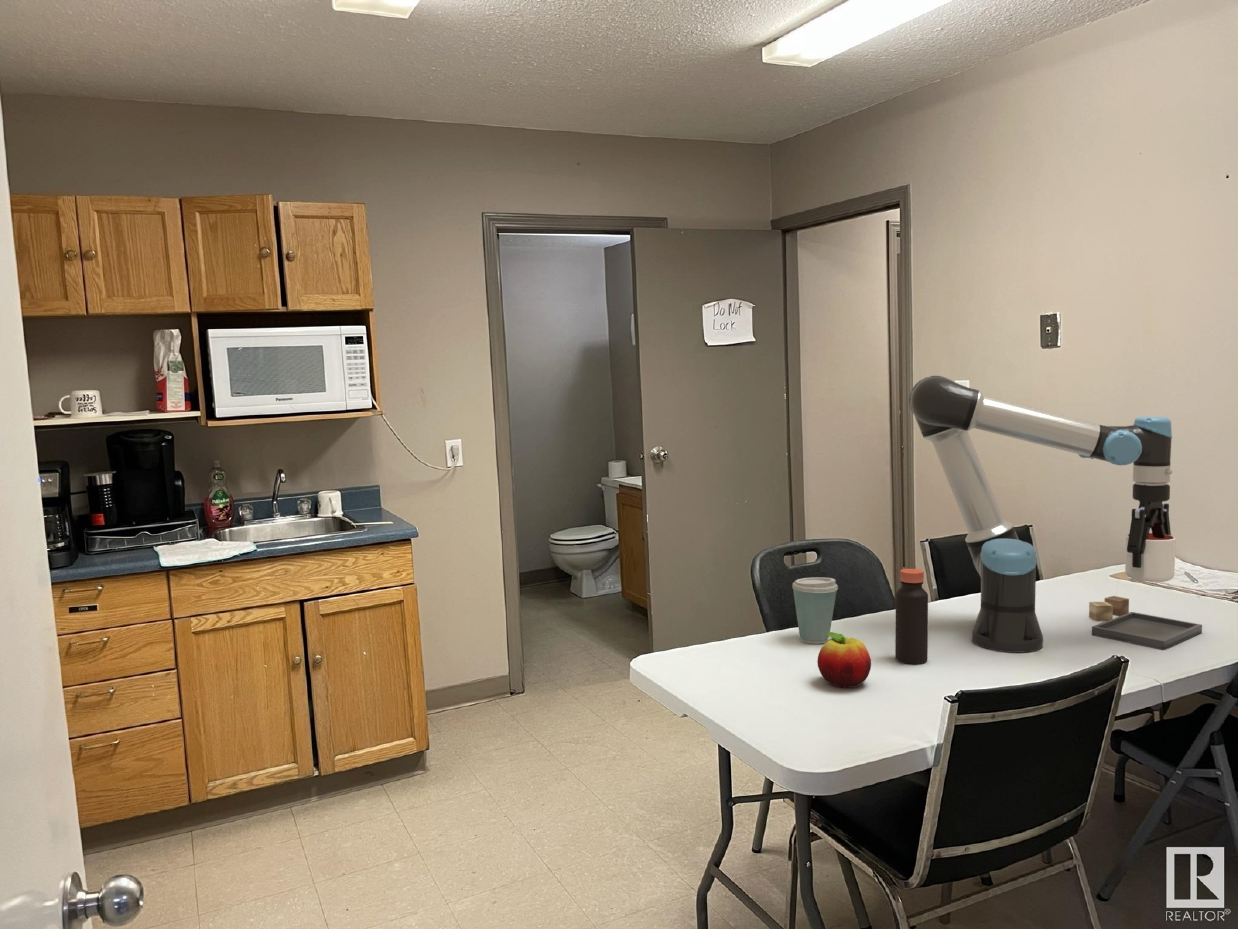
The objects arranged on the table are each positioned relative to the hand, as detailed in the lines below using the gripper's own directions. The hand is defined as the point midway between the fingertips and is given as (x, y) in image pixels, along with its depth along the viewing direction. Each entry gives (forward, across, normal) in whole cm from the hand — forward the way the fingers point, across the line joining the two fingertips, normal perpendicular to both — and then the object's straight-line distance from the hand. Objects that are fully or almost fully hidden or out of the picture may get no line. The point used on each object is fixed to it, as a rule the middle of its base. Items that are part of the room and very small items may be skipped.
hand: (1148, 577), depth 217 cm
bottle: (+14, -57, +24) cm, 64 cm away
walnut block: (+14, +13, +13) cm, 23 cm away
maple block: (+14, +5, +13) cm, 20 cm away
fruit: (+14, -80, +24) cm, 85 cm away
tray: (+14, 0, 0) cm, 14 cm away
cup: (0, 0, 0) cm, 0 cm away
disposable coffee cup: (+14, -61, +48) cm, 79 cm away
